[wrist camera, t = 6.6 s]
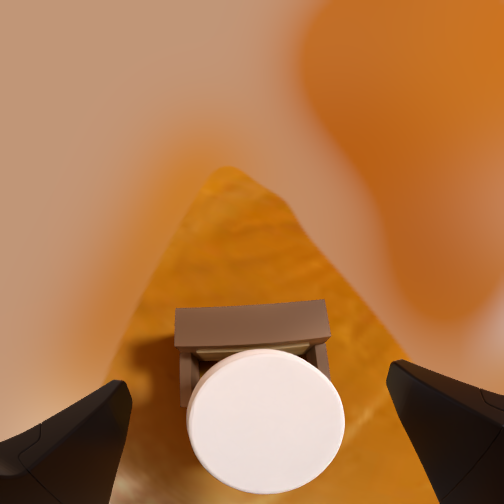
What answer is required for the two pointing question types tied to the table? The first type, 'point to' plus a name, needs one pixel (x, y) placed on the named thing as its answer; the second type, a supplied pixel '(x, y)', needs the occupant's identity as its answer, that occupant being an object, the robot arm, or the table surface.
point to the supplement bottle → (265, 421)
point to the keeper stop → (249, 335)
